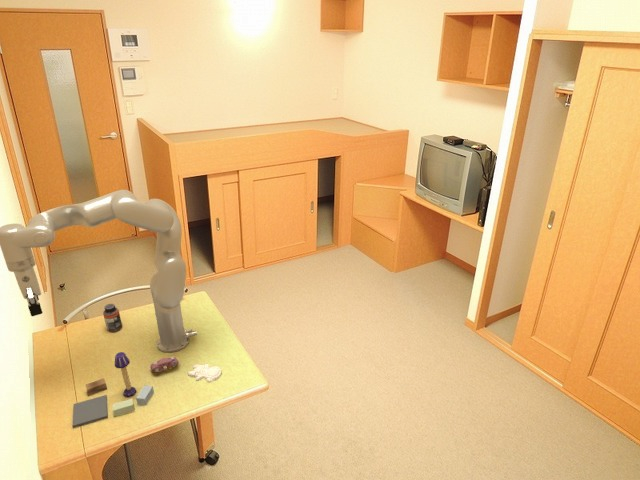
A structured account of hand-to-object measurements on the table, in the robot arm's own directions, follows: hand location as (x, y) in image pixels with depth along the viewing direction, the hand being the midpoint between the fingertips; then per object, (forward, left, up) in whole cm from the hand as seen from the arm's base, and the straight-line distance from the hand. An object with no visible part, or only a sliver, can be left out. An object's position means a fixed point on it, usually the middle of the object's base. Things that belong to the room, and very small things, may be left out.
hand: (35, 307), depth 147 cm
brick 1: (-13, +13, -30) cm, 35 cm away
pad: (-11, +23, -30) cm, 39 cm away
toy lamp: (-23, +19, -30) cm, 42 cm away
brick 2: (-21, +27, -30) cm, 45 cm away
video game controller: (-36, +12, -30) cm, 48 cm away
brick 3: (-28, +24, -30) cm, 48 cm away
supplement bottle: (-20, -23, -30) cm, 43 cm away
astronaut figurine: (-49, +20, -30) cm, 61 cm away
